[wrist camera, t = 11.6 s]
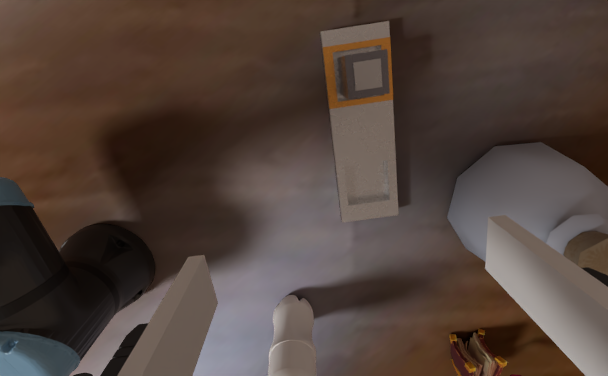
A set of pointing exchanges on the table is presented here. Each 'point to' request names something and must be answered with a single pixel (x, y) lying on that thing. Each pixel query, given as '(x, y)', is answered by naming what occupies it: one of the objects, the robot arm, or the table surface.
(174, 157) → the table surface
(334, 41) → the rail
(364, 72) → the grey tall square block
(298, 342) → the water bottle
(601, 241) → the bottle
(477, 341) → the book monster
